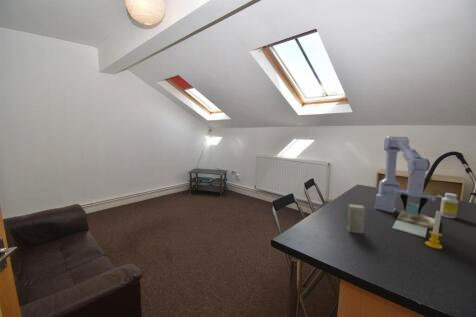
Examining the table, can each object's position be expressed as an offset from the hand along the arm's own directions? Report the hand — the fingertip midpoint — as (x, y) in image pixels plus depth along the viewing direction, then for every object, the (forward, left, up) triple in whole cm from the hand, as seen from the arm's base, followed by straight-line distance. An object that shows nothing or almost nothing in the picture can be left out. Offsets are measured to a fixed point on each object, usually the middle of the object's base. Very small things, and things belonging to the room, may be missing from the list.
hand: (411, 211), depth 98 cm
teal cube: (0, 0, -1) cm, 1 cm away
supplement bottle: (+13, +36, -9) cm, 39 cm away
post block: (+2, +15, -9) cm, 18 cm away
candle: (+9, -12, -9) cm, 17 cm away
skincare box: (-18, -22, -9) cm, 30 cm away
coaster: (0, 0, -9) cm, 9 cm away
